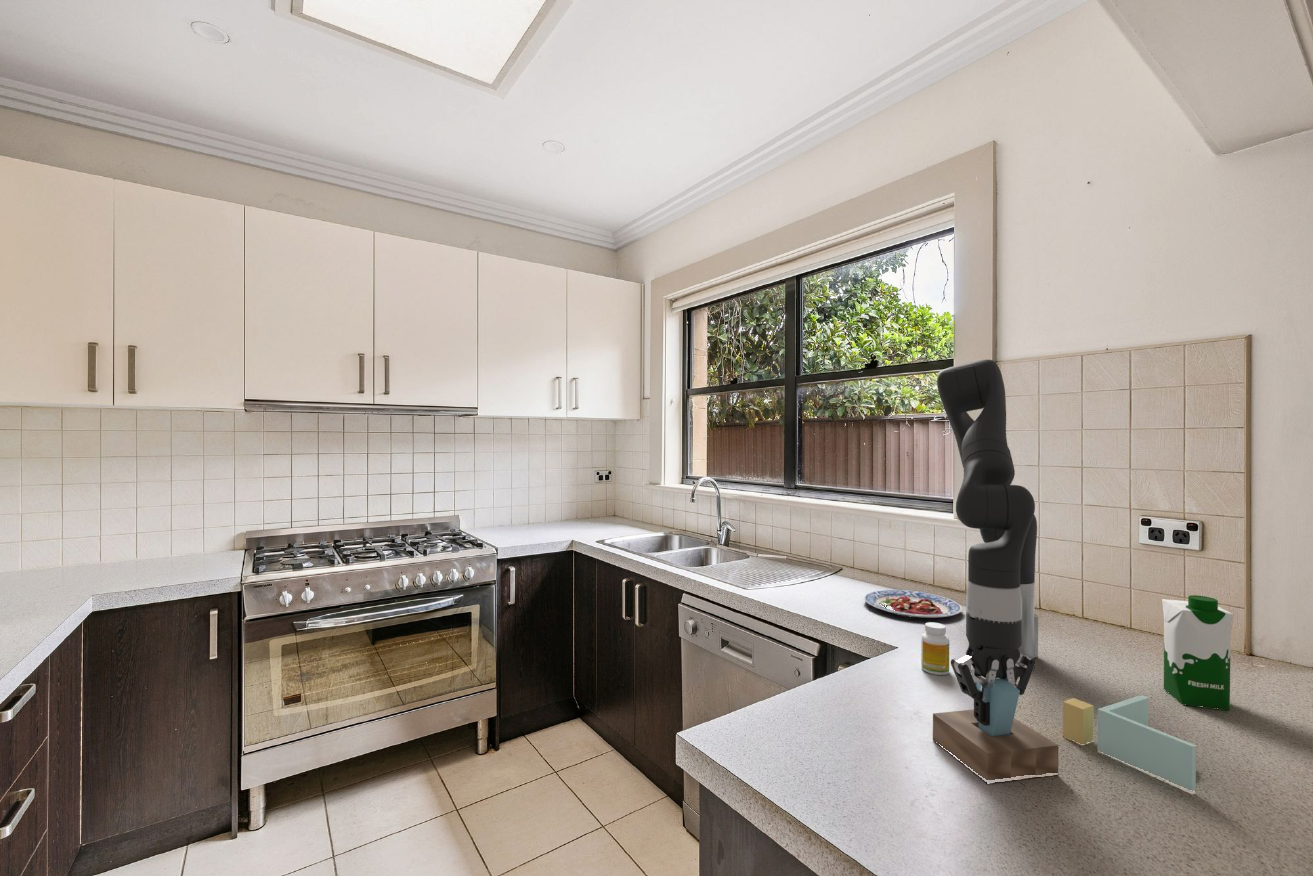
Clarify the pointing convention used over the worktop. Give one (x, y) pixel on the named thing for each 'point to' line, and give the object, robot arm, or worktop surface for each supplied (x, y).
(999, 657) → the robot arm
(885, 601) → the ceramic plate
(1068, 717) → the short peg
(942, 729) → the hole block
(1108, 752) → the l-shaped corner panel
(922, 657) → the supplement bottle
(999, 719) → the long peg
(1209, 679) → the milk carton
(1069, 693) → the worktop surface
